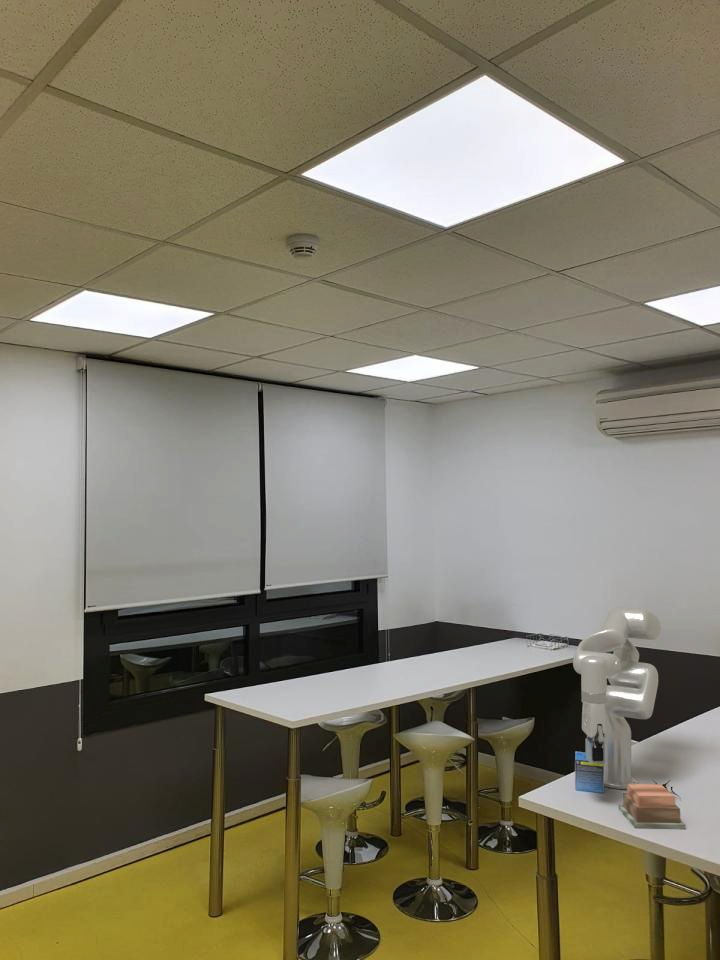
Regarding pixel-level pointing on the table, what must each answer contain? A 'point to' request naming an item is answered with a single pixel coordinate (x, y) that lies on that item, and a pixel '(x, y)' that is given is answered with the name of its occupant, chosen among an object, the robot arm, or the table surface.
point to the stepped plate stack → (651, 807)
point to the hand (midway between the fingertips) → (595, 757)
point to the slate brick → (589, 750)
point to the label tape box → (588, 774)
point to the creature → (666, 787)
